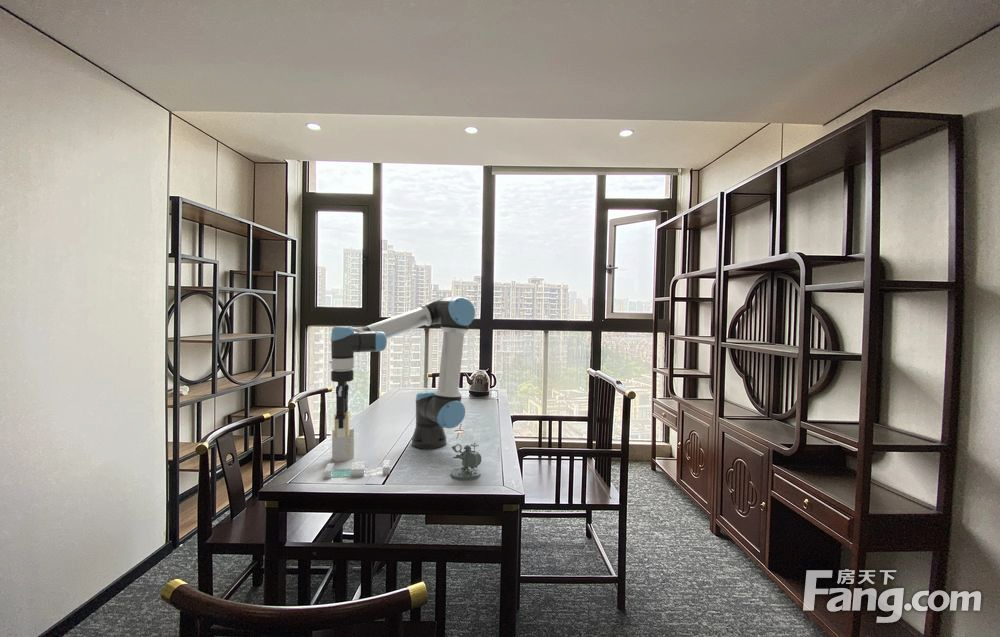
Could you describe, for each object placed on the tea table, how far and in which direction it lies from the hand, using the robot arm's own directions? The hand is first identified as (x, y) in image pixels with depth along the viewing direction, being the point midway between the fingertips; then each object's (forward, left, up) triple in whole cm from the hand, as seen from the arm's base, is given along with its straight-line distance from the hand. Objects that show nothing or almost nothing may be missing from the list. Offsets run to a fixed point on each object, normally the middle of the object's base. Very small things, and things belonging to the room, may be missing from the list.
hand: (342, 434), depth 161 cm
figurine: (-43, +8, -15) cm, 47 cm away
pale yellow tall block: (0, 0, 0) cm, 0 cm away
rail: (-6, 0, -14) cm, 15 cm away
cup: (+2, -18, -14) cm, 23 cm away
